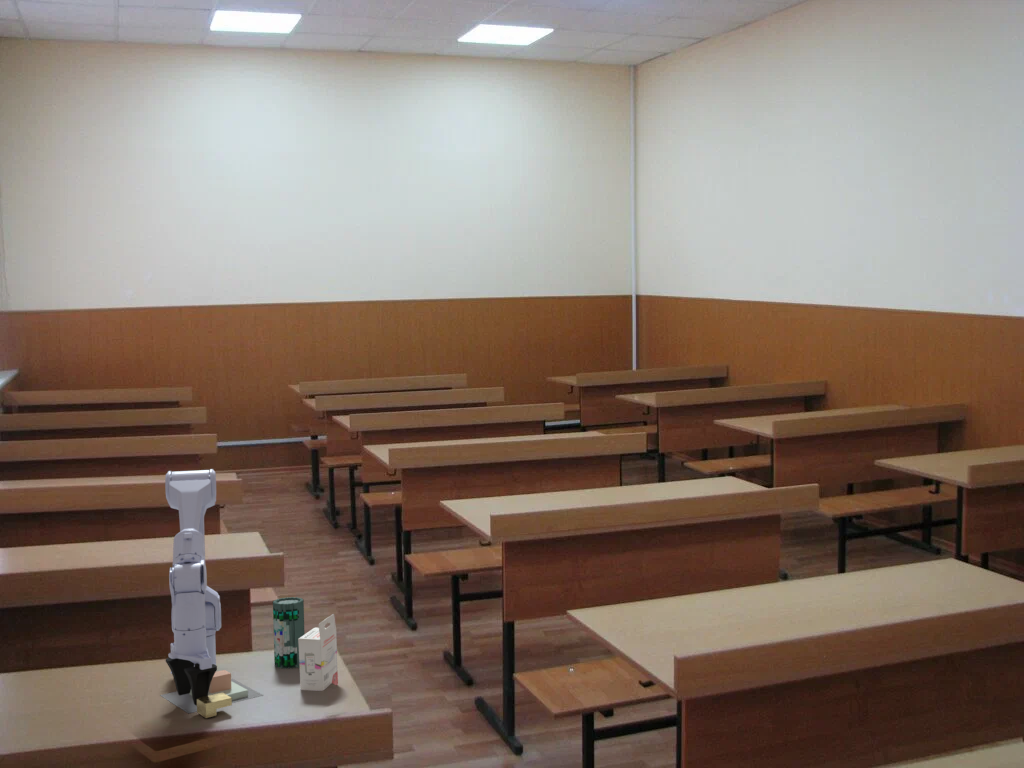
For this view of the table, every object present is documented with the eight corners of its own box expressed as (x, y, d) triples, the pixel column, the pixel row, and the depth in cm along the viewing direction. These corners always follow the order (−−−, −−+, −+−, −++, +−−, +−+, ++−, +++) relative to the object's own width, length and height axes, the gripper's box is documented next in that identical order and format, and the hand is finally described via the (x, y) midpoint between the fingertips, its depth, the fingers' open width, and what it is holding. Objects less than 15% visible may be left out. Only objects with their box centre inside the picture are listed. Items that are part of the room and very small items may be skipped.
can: (269, 672, 227) (267, 601, 226) (291, 664, 232) (289, 596, 231) (288, 677, 223) (286, 605, 223) (310, 669, 228) (308, 599, 228)
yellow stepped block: (197, 712, 197) (196, 698, 197) (222, 706, 200) (222, 692, 200) (206, 718, 194) (205, 703, 194) (232, 711, 197) (231, 697, 197)
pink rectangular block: (189, 694, 209) (188, 672, 209) (228, 685, 214) (227, 664, 214) (208, 705, 202) (207, 683, 202) (248, 696, 207) (247, 674, 207)
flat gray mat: (160, 702, 209) (159, 695, 209) (232, 685, 218) (232, 678, 218) (188, 721, 198) (188, 713, 198) (263, 702, 207) (263, 695, 207)
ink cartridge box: (315, 683, 219) (313, 612, 218) (338, 684, 218) (336, 612, 217) (299, 697, 210) (296, 623, 210) (322, 698, 209) (320, 623, 209)
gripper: (154, 623, 204) (156, 694, 204) (184, 638, 193) (186, 713, 193) (189, 616, 208) (192, 686, 209) (221, 631, 197) (223, 704, 198)
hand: (192, 698), depth 201 cm, fingers open, 7 cm apart
